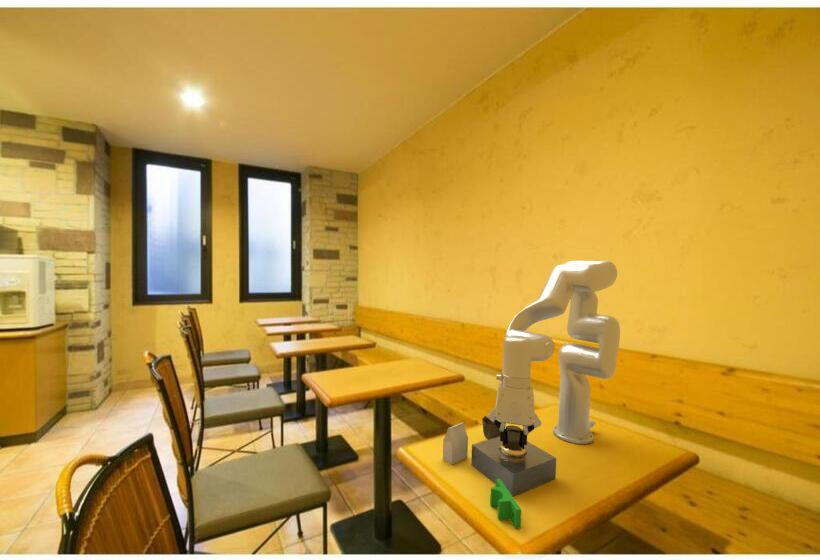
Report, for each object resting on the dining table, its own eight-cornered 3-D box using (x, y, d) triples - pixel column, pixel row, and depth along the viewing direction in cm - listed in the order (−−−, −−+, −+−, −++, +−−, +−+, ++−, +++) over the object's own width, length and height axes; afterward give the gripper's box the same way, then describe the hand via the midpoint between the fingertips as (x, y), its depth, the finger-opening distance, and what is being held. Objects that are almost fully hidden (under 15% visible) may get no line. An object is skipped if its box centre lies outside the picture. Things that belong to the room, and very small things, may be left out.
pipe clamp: (485, 497, 88) (486, 479, 88) (499, 496, 89) (500, 478, 89) (504, 530, 77) (505, 510, 77) (520, 529, 78) (521, 508, 78)
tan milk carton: (467, 457, 106) (468, 424, 106) (451, 465, 102) (452, 431, 102) (458, 452, 109) (459, 420, 109) (442, 459, 105) (443, 426, 104)
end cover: (511, 458, 104) (513, 421, 103) (530, 470, 98) (531, 431, 97) (494, 464, 100) (496, 426, 100) (512, 477, 95) (514, 437, 94)
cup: (505, 451, 110) (506, 426, 110) (481, 448, 111) (482, 423, 111) (504, 440, 117) (505, 416, 117) (481, 437, 119) (482, 414, 118)
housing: (511, 451, 110) (512, 432, 110) (555, 479, 96) (556, 457, 96) (471, 464, 102) (471, 444, 102) (512, 497, 88) (513, 473, 88)
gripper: (483, 381, 97) (481, 447, 97) (549, 388, 92) (546, 457, 93) (485, 373, 104) (483, 434, 105) (546, 379, 99) (543, 443, 100)
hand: (513, 444), depth 99 cm, fingers closed on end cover, 4 cm apart
